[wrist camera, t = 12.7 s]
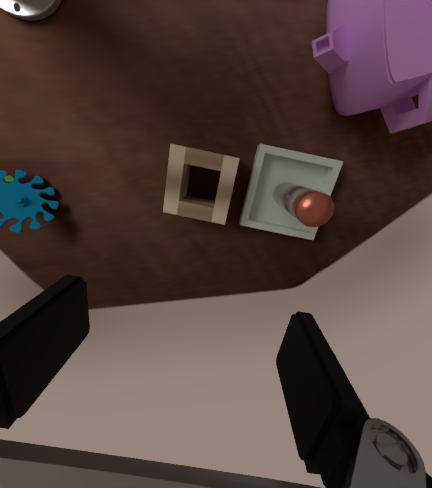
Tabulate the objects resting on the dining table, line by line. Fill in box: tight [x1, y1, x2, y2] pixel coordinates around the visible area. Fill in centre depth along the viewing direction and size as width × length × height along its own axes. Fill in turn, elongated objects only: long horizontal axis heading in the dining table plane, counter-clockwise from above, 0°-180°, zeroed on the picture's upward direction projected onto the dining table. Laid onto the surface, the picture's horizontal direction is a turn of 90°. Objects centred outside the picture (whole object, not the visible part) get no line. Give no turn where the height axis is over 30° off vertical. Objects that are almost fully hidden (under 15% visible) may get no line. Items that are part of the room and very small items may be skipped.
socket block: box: [163, 144, 240, 225], centre depth 32 cm, size 9×9×6 cm
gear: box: [0, 169, 59, 233], centre depth 35 cm, size 11×6×10 cm
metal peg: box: [273, 182, 334, 227], centre depth 28 cm, size 4×4×13 cm
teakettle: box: [312, 0, 432, 134], centre depth 22 cm, size 17×17×12 cm
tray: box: [239, 144, 343, 240], centre depth 33 cm, size 12×12×2 cm
